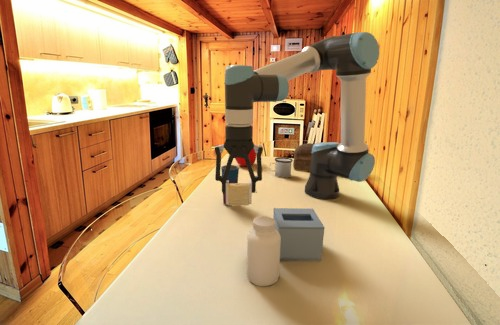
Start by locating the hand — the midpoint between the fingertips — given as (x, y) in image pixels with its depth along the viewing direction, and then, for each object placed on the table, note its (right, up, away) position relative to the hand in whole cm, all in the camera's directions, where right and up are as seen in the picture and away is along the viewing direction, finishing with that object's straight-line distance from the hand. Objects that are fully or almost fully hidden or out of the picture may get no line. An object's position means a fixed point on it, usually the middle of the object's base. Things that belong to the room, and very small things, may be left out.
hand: (238, 202), depth 84 cm
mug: (+20, +5, +69) cm, 72 cm away
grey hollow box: (+16, -13, -1) cm, 21 cm away
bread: (+44, +7, +81) cm, 93 cm away
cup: (-5, -5, +30) cm, 31 cm away
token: (0, 0, 0) cm, 0 cm away
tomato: (+1, +10, +87) cm, 88 cm away
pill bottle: (+6, -17, -14) cm, 23 cm away
